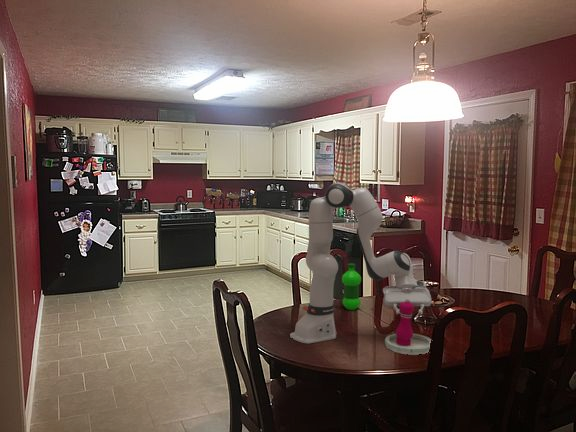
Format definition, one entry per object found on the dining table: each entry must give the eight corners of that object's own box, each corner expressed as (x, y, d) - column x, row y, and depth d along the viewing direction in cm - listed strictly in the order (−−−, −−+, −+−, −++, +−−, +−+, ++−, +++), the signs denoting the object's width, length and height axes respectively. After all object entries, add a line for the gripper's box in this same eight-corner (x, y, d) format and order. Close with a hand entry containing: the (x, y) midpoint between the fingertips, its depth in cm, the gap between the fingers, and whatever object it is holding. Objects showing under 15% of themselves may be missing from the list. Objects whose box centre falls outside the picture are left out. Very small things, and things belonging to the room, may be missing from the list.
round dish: (412, 358, 197) (412, 352, 197) (375, 344, 213) (375, 339, 213) (442, 347, 209) (442, 342, 209) (405, 335, 225) (405, 330, 225)
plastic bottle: (349, 305, 276) (349, 261, 274) (364, 308, 269) (364, 264, 267) (338, 308, 269) (338, 264, 267) (353, 312, 262) (353, 266, 259)
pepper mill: (402, 347, 207) (406, 302, 204) (391, 340, 213) (395, 296, 210) (415, 345, 210) (420, 300, 207) (404, 338, 216) (408, 295, 214)
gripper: (383, 282, 217) (386, 310, 208) (429, 282, 216) (434, 310, 207) (381, 289, 222) (384, 317, 213) (427, 290, 220) (431, 317, 212)
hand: (409, 314), depth 210 cm, fingers open, 8 cm apart
